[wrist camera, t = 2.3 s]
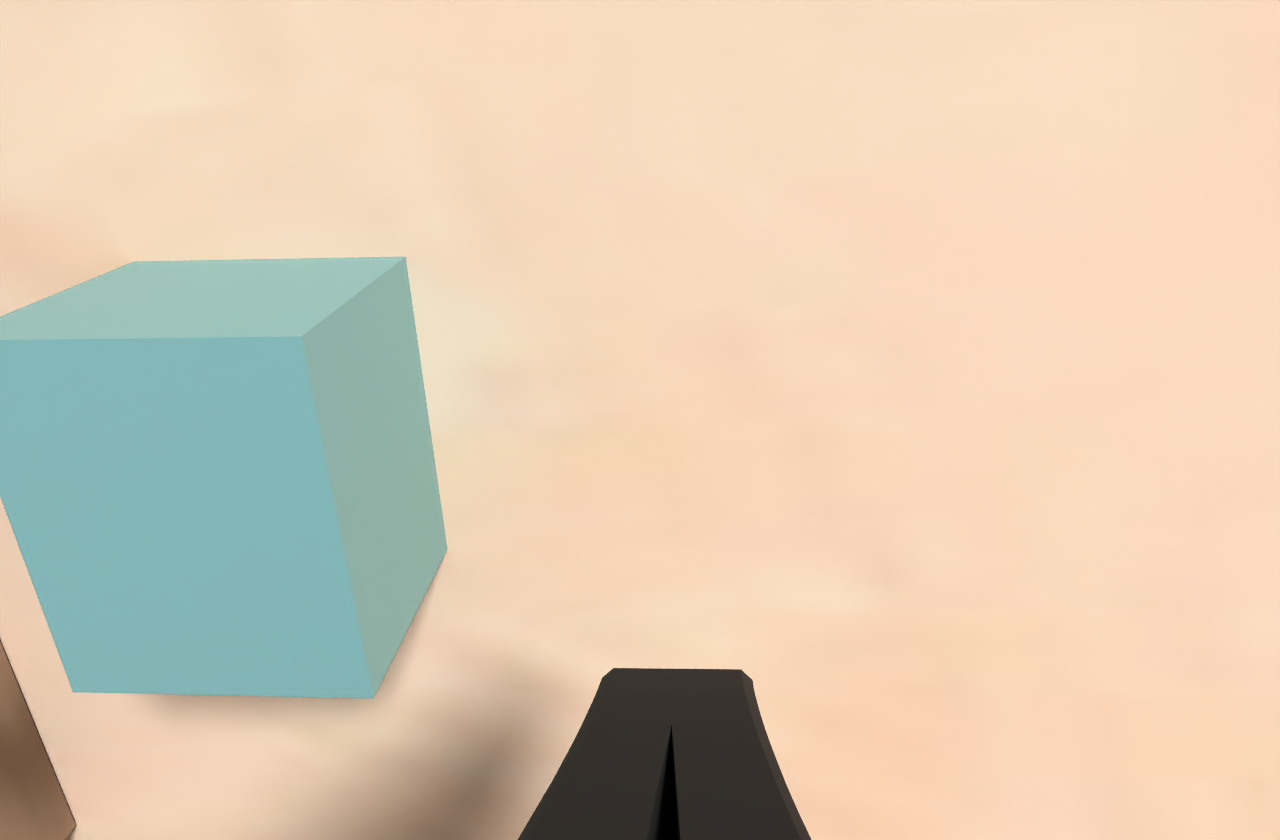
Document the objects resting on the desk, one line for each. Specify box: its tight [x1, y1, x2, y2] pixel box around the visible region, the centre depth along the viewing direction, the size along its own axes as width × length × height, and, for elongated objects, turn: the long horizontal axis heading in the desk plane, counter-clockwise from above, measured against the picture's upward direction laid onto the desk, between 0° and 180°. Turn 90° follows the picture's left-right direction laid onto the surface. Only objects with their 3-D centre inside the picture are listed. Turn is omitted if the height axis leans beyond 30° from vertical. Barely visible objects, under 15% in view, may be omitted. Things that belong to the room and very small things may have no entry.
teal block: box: [0, 257, 447, 698], centre depth 15 cm, size 6×5×4 cm
